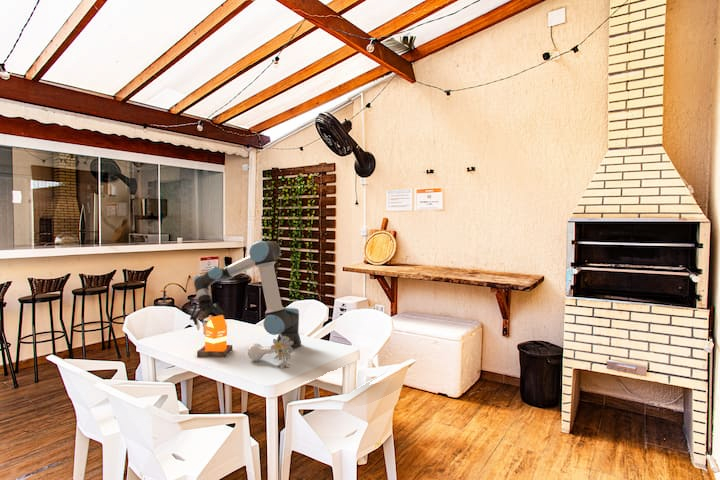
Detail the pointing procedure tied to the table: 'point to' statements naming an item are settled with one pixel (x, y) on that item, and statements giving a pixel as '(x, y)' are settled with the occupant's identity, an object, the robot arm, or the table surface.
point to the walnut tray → (214, 352)
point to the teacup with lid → (205, 323)
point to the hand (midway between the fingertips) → (211, 327)
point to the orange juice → (216, 334)
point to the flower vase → (273, 350)
